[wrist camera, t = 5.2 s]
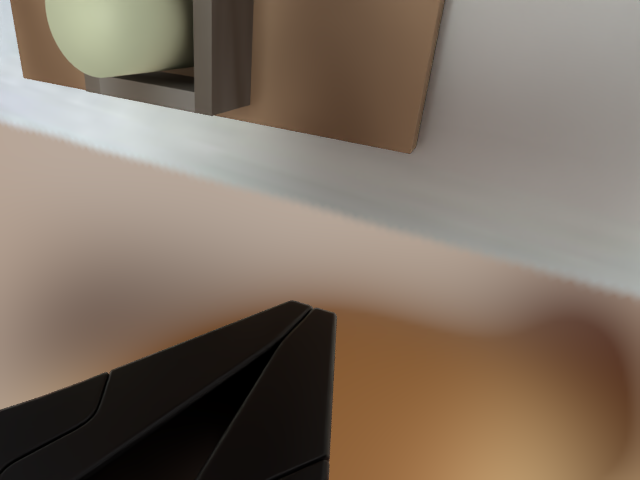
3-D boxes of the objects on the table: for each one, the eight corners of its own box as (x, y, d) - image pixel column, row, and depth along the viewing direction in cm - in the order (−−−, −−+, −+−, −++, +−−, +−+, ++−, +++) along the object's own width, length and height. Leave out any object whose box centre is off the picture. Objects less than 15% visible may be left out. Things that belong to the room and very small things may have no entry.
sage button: (219, -27, 17) (131, -44, 13) (218, 73, 18) (139, 85, 14) (141, -35, 18) (36, -52, 14) (146, 61, 19) (54, 69, 15)
